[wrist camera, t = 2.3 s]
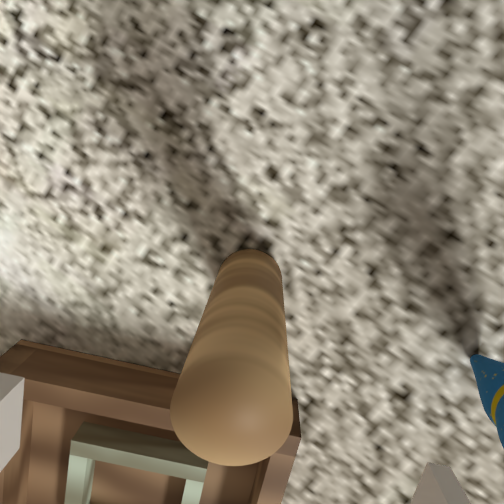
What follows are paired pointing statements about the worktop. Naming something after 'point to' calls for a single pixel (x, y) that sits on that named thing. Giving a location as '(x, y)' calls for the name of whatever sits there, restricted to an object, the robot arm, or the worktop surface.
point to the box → (118, 439)
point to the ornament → (491, 389)
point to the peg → (237, 368)
